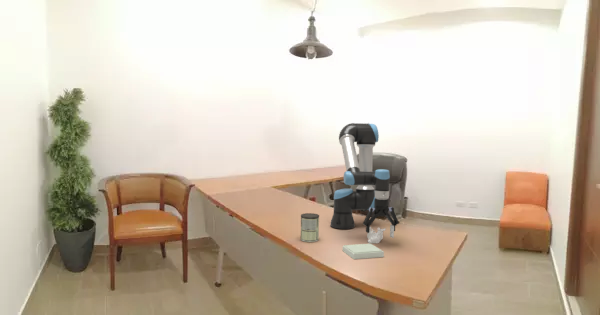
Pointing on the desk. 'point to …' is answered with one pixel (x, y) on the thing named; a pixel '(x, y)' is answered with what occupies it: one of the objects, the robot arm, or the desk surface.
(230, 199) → the desk surface
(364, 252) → the tray
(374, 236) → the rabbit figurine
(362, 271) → the desk surface
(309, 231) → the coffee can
